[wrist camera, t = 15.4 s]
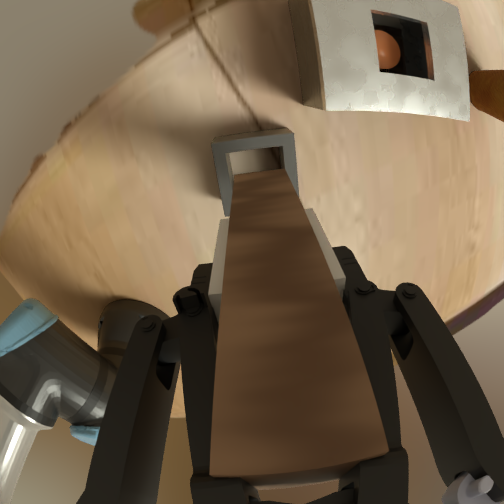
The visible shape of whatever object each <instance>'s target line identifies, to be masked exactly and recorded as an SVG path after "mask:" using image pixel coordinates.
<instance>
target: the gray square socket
mask: <svg viewBox="0 0 504 504" xmlns="http://www.w3.org/2000/svg"><path fill="white" fill-rule="evenodd" d="M211 146H212V152H213V157H214V162H215V168H216V173H217V178H218V184H219V189H220V194H221V199H222V204H223V209H224V214H225V217H226V216H230V209H231V201H232V192H233V184H234V181H233V175H232V169H231V163H230V157H229V153H231V152H238V151H245V150H252V149H260V148H268V147H277V146H279V153H280V162H281V169H285V170H286V172H287V174H288V176H289V178H290V180H291V182H292V184H293V187H294V189H295V191H296V193H297V195H298V197H299V189H298V176H297V163H296V151H295V140H294V133H293V132H292V131H291V130H289V129H288V128H281V129H271V130H263V131H254V132H247V133H239V134H233V135H226V136H220V137H215V138H214V140H213V142H212V143H211Z"/></svg>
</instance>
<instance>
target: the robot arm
mask: <svg viewBox="0 0 504 504" xmlns="http://www.w3.org/2000/svg"><path fill="white" fill-rule="evenodd" d="M304 210H305V213H306V215H307V217H308V219H309V221H310V224H311V226H312V228H313V231H314V233H315V235H316V237H317V240H318V242H319V244H320V247H321V249H322V252H323V254H324V256H325V259H326V261H327V264H328V266H329V269H330V271H331V274H332V276H333V279H334V281H335V284H336V286H337V289H338V291H339V294H340V297H341V299H342V302H343V304H344V307H345V310H346V312H347V315H348V318H349V321H350V323H351V326H352V329H353V332H354V335H355V338H356V340H357V343H358V346H359V349H360V352H361V355H362V358H363V361H364V364H365V367H366V370H367V374H368V377H369V380H370V383H371V386H372V390H373V393H374V396H375V400H376V403H377V407H378V410H379V414H380V417H381V421H382V425H383V428H384V432H385V436H386V440H387V444H388V448H389V452H387V453H386V454H385V455H382V456H379V457H375V458H371V459H367V460H363V461H360V462H359V463H358V464H357V465H355V466H354V467H353V468H352V469H351V470H350V471H348V472H347V473H346V474H345V475H344V476H342V477H341V478H340V479H339V489H338V492H334V493H332V494H330V495H328V496H325V497H323V498H320V499H317V500H315V501H312V502H309V503H307V504H409V503H408V474H409V473H408V454H407V452H406V450H405V449H404V448H403V447H402V445H401V434H400V419H399V407H398V397H397V390H396V381H395V373H394V367H393V360H392V354H391V349H392V352H393V354H394V356H395V358H396V360H397V363H398V365H399V367H400V369H401V372H402V374H403V376H404V379H405V381H406V383H407V386H408V388H409V390H410V393H411V395H412V398H413V400H414V403H415V405H416V408H417V411H418V413H419V416H420V419H421V421H422V424H423V427H424V429H425V432H426V435H427V438H428V441H429V444H430V447H431V450H432V453H433V456H434V459H435V462H436V465H437V468H438V470H439V473H440V475H441V477H442V479H443V481H444V483H445V484H446V486H447V487H448V488H447V490H446V492H445V493H444V495H443V496H442V502H443V504H499V503H501V502H502V501H504V438H503V437H502V434H501V432H500V429H499V426H498V424H497V422H496V419H495V417H494V414H493V412H492V410H491V408H490V405H489V403H488V401H487V399H486V397H485V395H484V393H483V391H482V389H481V387H480V385H479V383H478V381H477V379H476V377H475V375H474V373H473V371H472V369H471V367H470V366H469V364H468V362H467V360H466V359H465V357H464V355H463V353H462V352H461V350H460V348H459V346H458V345H457V343H456V341H455V340H454V338H453V336H452V335H451V333H450V331H449V330H448V328H447V327H446V325H445V323H444V322H443V320H442V319H441V317H440V316H439V314H438V313H437V311H436V310H435V308H434V307H433V305H432V304H431V302H430V301H429V299H428V298H427V297H426V295H425V294H424V292H423V291H422V290H421V289H420V288H419V287H418V286H417V285H415V284H413V283H402V284H399V285H398V286H397V287H396V291H388V290H380V289H378V288H377V286H376V285H375V284H374V283H373V282H371V281H368V280H367V278H366V277H365V275H364V273H363V271H362V269H361V267H360V265H359V264H358V262H357V260H356V258H355V256H354V254H353V253H352V251H351V250H350V249H348V248H347V247H346V246H340V247H331V245H330V243H329V241H328V239H327V236H326V234H325V232H324V230H323V228H322V226H321V224H320V222H319V220H318V218H317V216H316V214H315V213H314V211H313V209H312V208H311V209H304ZM228 227H229V219H222V220H220V224H219V230H218V235H217V241H216V247H215V253H214V260H213V263H207V264H199V265H198V267H197V268H196V269H195V270H194V273H193V277H192V281H191V285H190V286H187V287H184V288H182V289H180V290H179V291H177V292H176V293H175V295H174V296H173V302H174V305H175V307H176V309H177V312H178V315H176V316H174V317H171V318H169V317H168V316H167V315H166V314H165V313H163V312H162V311H160V310H159V309H157V308H155V307H153V306H151V305H148V304H146V303H143V302H139V301H134V300H119V301H115V302H112V303H110V304H109V305H107V306H106V307H105V309H104V311H103V313H102V315H101V317H100V320H99V326H98V328H99V330H98V349H97V351H96V350H94V349H93V348H92V347H91V346H89V345H88V344H87V343H86V342H84V341H83V340H82V339H81V338H80V337H78V336H77V335H76V334H75V333H74V332H73V331H71V330H70V329H69V328H68V327H67V326H66V325H65V324H64V323H62V322H61V321H60V320H59V319H58V318H59V317H58V316H57V315H55V314H53V313H52V312H51V311H49V310H48V309H47V308H46V307H45V306H44V305H43V304H42V303H41V302H40V301H38V300H36V299H33V298H29V299H26V300H24V301H23V302H22V303H21V304H20V305H19V306H18V307H17V308H16V309H15V310H14V311H13V312H12V313H11V314H10V315H9V316H8V318H7V319H6V320H5V321H4V322H3V323H2V324H1V325H0V504H10V503H11V500H12V496H13V493H14V490H15V487H16V484H17V481H18V479H19V476H20V473H21V470H22V468H23V465H24V462H25V460H26V458H27V455H28V452H29V450H30V448H31V446H32V443H33V441H34V439H35V437H36V434H37V432H38V431H39V430H45V429H52V427H53V426H54V424H55V422H56V420H57V418H58V417H61V418H63V419H65V420H66V421H68V422H70V423H71V424H72V425H71V426H70V432H71V435H72V436H73V437H76V438H77V439H78V440H81V441H83V442H85V443H88V444H91V445H94V446H95V448H94V452H93V456H92V460H91V465H90V469H89V473H88V478H87V483H86V488H85V491H84V492H83V494H82V495H81V497H80V499H79V500H78V502H77V503H76V504H156V502H157V495H158V488H159V481H160V474H161V467H162V461H163V454H164V448H165V442H166V437H167V431H168V425H169V419H170V414H171V409H172V404H173V399H174V393H175V388H176V383H177V379H178V374H179V369H180V364H181V370H182V383H183V394H184V404H185V413H186V422H187V430H188V438H189V445H190V452H191V459H192V465H193V475H192V477H191V479H190V487H191V494H192V499H193V504H290V503H281V502H274V501H261V500H260V497H259V494H258V490H257V489H256V488H255V487H253V486H252V485H250V484H249V483H247V482H246V481H245V480H243V479H242V478H240V477H213V476H211V475H209V474H210V450H211V430H212V413H213V397H214V382H215V368H216V354H217V342H218V329H219V318H220V306H221V296H222V285H223V275H224V265H225V255H226V245H227V236H228ZM390 347H391V348H390Z"/></svg>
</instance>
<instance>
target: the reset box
mask: <svg viewBox="0 0 504 504" xmlns="http://www.w3.org/2000/svg"><path fill="white" fill-rule="evenodd" d="M288 3H289V9H290V14H291V20H292V26H293V32H294V38H295V44H296V51H297V58H298V65H299V73H300V81H301V89H302V98H303V105H305V106H309V107H313V108H317V109H321V110H325V111H385V112H400V113H412V114H422V115H430V116H438V117H445V118H452V119H458V120H463V121H469V122H470V95H469V76H468V64H467V55H466V48H465V41H464V35H463V29H462V24H461V19H460V15H459V10H458V7H456V6H454V5H452V4H449V3H447V2H445V1H442V0H288ZM374 30H381V31H384V32H386V33H388V34H389V35H391V36H392V37H393V38H394V39H395V41H396V42H397V44H398V46H399V49H400V60H399V62H398V64H397V65H396V66H394V67H392V68H389V73H384V72H380V70H379V60H378V52H377V45H376V38H375V32H374Z"/></svg>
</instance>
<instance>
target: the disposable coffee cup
mask: <svg viewBox="0 0 504 504" xmlns="http://www.w3.org/2000/svg"><path fill="white" fill-rule="evenodd" d="M469 95H470V100H471V102H472V104H473V105H474V106H475V107H476V108H477V109H478V110H480V111H483V112H485V113H487V114H489V115H491V116H493V117H495V118H497V119H499V120H501V121H503V122H504V70H483V71H473V72H472V73H471V74H470V76H469Z"/></svg>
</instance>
